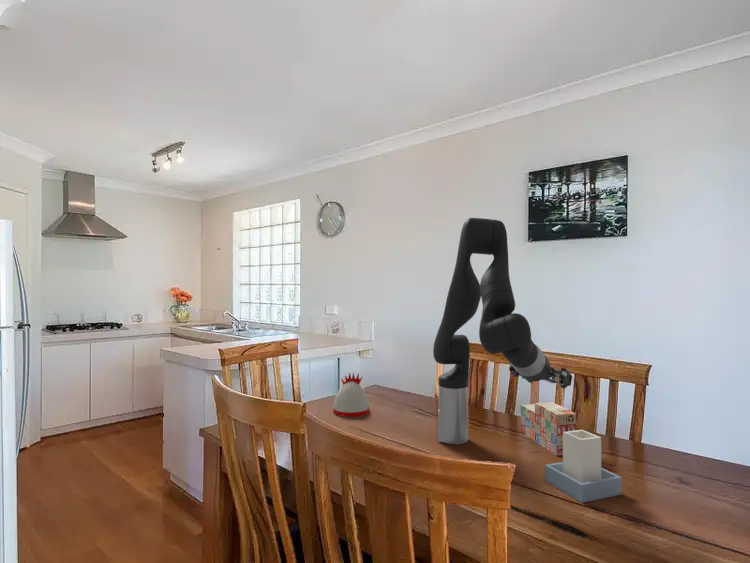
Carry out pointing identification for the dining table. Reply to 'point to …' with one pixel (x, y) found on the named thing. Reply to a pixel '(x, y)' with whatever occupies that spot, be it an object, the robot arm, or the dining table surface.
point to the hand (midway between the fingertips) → (547, 382)
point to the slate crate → (583, 484)
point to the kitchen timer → (351, 398)
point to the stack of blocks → (547, 424)
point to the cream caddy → (582, 455)
